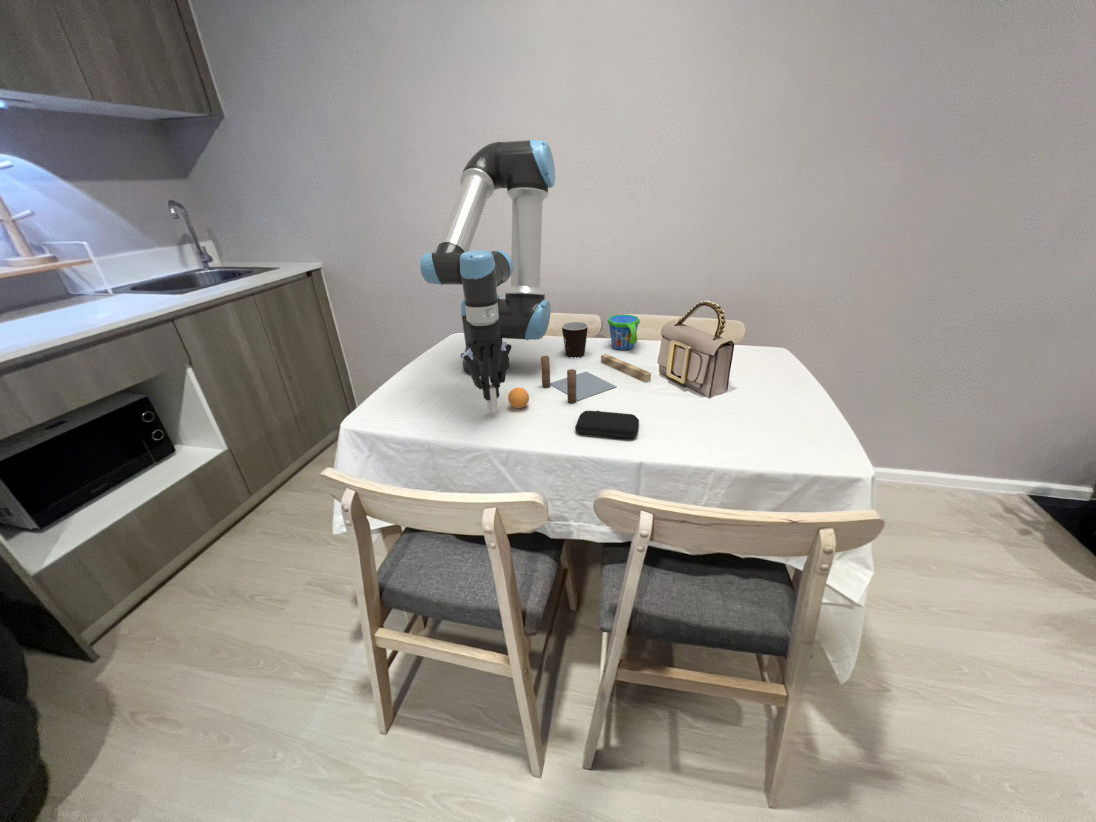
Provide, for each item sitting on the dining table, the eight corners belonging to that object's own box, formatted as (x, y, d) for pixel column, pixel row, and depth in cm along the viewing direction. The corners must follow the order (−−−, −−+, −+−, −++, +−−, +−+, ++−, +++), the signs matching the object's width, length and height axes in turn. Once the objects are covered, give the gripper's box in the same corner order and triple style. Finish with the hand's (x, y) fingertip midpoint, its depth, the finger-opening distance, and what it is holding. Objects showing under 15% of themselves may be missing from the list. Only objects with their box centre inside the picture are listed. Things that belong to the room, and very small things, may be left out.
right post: (565, 401, 125) (565, 370, 121) (572, 398, 126) (572, 368, 122) (571, 404, 124) (570, 373, 119) (578, 401, 125) (578, 371, 120)
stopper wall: (600, 362, 149) (601, 355, 147) (605, 360, 150) (605, 353, 148) (645, 382, 134) (646, 374, 133) (650, 380, 135) (651, 372, 134)
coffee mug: (586, 359, 151) (586, 330, 146) (560, 358, 153) (559, 329, 148) (590, 347, 161) (590, 319, 156) (566, 346, 163) (565, 318, 158)
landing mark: (548, 384, 135) (548, 383, 135) (586, 371, 142) (586, 371, 142) (578, 400, 125) (578, 400, 125) (616, 387, 132) (616, 386, 132)
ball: (505, 406, 124) (503, 387, 121) (522, 400, 127) (521, 382, 124) (515, 413, 120) (514, 395, 117) (533, 407, 123) (532, 389, 120)
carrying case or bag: (639, 421, 115) (581, 415, 119) (640, 410, 114) (581, 405, 117) (636, 443, 106) (573, 437, 110) (636, 432, 105) (573, 426, 108)
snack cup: (601, 341, 166) (601, 313, 161) (628, 338, 168) (629, 310, 163) (615, 356, 153) (617, 326, 148) (645, 353, 154) (647, 323, 150)
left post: (540, 386, 134) (539, 357, 130) (547, 383, 136) (546, 355, 131) (545, 388, 133) (543, 359, 128) (552, 386, 134) (550, 357, 130)
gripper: (464, 331, 102) (476, 423, 113) (515, 319, 108) (522, 407, 119) (451, 322, 107) (463, 411, 119) (500, 312, 113) (507, 397, 125)
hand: (492, 409), depth 119 cm, fingers closed
